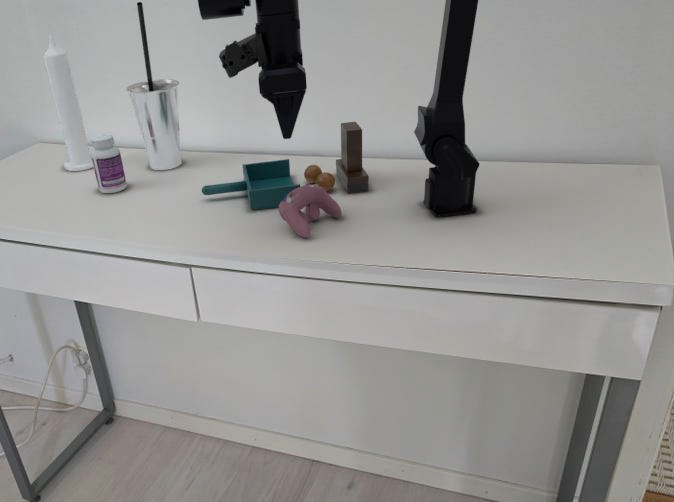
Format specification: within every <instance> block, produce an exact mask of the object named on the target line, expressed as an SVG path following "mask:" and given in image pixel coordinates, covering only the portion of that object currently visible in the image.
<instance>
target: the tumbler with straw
mask: <svg viewBox="0 0 674 502" xmlns="http://www.w3.org/2000/svg"><path fill="white" fill-rule="evenodd" d="M136 7H137V13H138V20H139V22H138V23H139V30H140V36H141V42H142V50H143V57H144V58H143V59H144V64H145V72H146V79H147V80H145V81H144V80H143V81H140V82H136V83H132V84H130V85H128V86H127V87H126V89H125V90H126V91H127V92H128V93H129V97H130V100H131V103H132V107H133V110H134V114H135V117H136V121H137V126H138V128H139V131H140V135H141V137H142V141H143V145H144V149H145V152H146V156H147V160H148V163H149V168H150V169H151V170H155V171H168V170H172V169H176V168H178V167H180V166H181V165H182V163H183V161H182V148H181V137H180V136H181V135H180V130H181V129H180V113H179V94H178V86H179V85H180V81H178V80H177V79H171V78H168V79H167V78H163V79H159V78H158V79H153V75H152V67H151V60H150V51H149V43H148V37H147V29H146V21H145V13H144V6H143V2H141V1H138V2H136Z"/></svg>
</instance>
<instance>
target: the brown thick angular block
mask: <svg viewBox="0 0 674 502" xmlns="http://www.w3.org/2000/svg"><path fill="white" fill-rule="evenodd" d="M340 155H341V156H340V158H338V159H335V169H336V171H335V173H336V177H337V179H338V180H339V182H340V184H341V185H342V187H343V188H344V190H345V192H346V194H355V193H364V192H369V182H370V181H369V180H370V178H369V177H370V176H369V174H368V173H367V171H366V170H365V169H364V167H363V129H362V127H361V126H360V125H359V124H358V123H357V121H348V122H341V123H340Z"/></svg>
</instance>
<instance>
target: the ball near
mask: <svg viewBox="0 0 674 502" xmlns="http://www.w3.org/2000/svg"><path fill="white" fill-rule="evenodd" d="M315 184H318V186H319V187H322V188H323V189H324V190H325V191H326V192H327V193H328V192H330V191H331V190H333V189H334V187H335V186H336V179H335V176H334V175H333V174H332V173H331V172H327V171H325V172H322V173H321V174H320V175H319V176H318V178H317V181H316V183H315Z"/></svg>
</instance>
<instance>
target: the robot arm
mask: <svg viewBox="0 0 674 502" xmlns="http://www.w3.org/2000/svg"><path fill="white" fill-rule="evenodd" d="M254 1H255V12H256V22H255V27H254V33H253V34H251V35H249V36H247V37H244V38H243V39H240V40H239V41H238V40H237V39H236V40H233V42H232V43H230V44H225V47H224V49H223V50H221V51H220V53H219V54H218V58H219V59H220V62H221V66H222V69H224V71H225V72H226V74H227V77H228V78H229V79H231V78H234V77H236V76H238V75H239V73H240V72H242V71H244V70H246V69H249V68H250V67H252V66H253V65H256V64H257V65H258V66H257V67H258V68H261V69H260V71H259V73H258V89H259V94H260V95H261V97H262V98H263V99H265V100H266V101H268V102H269V103H270V104H271V105H273V108H274V112H275V115H276V118H277V119H276V120H277V123H278V125H279V129H280V132H281V135H282V138H283V140H290V139H291V138H292V137H293V133H294V129H295V126H296V123H297V120H298V116H299V113H300V110H301V107H302V104H303V102H304V97H305V95H306V93H307V89H308V87H307V86H308V85H307V72H306V68H305V67H304V59H303V51H302V41H301V19H300V8H299V0H254ZM197 4H198V11H199V14H200V17H201V20H202V21H208V20H216V19H226V18H235V17H244V15H245V10H246V7H247V8H248V7H249V8H250V7H251V6H252V0H197ZM478 5H479V0H445V3H444V8H443V9H444V10H443V17H442V24H441V25H442V26H441V32H440V39H439V47H438V54H437V62H436V70H435V76H434V84H433V91H432V95H431V98H430V99H429V101H428V104H427V106H422V105H418V106H417V124H416V126H415V129H414V130H413V133H414V135H415V138H416V139H417V142H418V144H419V146H420V148H421V150H422V153H423V155H424V156H425V158H426V160H427V161H428V163H430V164H432V165H433V166H431V167H429V168H428V177H427V178H425V180H424V195H423V204H424V205H425V207H426V208H427V209H428V210H429V211H430V213H431V214H432V215H433V216H434V217H436V218H442V217H448V216H449V217H450V216H456V215H466V214H473V213H477V212H478V208H477V207H476V206H475V205H474V197H475V187H476V186H475V185H476V178H477V172H478V169H479V167H480V161H478V159H477V158H476V156H475V155H474V153H473V152H472V150H471V149H470V148H469V145H467V144H466V120H465V119H466V118H465V110H464V92H465V87H466V86H465V85H466V80H467V75H468V68H469V61H470V56H471V55H470V54H471V49H472V44H473V43H472V42H473V36H474V30H475V24H476V19H477V18H476V17H477V12H478Z"/></svg>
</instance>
